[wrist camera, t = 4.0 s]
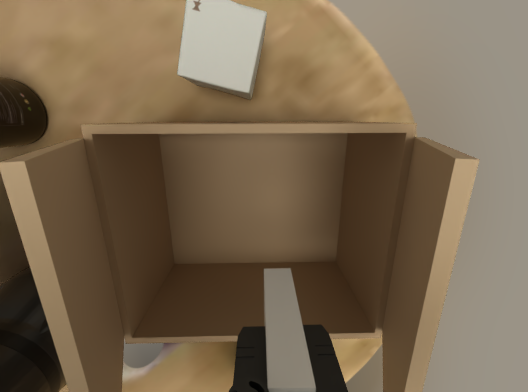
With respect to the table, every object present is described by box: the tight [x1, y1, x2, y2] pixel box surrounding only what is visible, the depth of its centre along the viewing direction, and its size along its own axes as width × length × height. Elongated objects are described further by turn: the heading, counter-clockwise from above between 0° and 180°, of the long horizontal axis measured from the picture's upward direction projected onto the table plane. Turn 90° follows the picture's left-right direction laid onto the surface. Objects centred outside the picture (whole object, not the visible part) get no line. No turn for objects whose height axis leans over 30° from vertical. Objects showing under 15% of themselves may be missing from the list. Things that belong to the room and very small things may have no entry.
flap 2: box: [382, 137, 479, 392], centre depth 15 cm, size 10×16×1 cm
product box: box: [177, 0, 267, 100], centre depth 23 cm, size 6×6×7 cm
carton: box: [81, 122, 417, 344], centre depth 25 cm, size 22×18×12 cm
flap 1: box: [0, 139, 124, 392], centre depth 14 cm, size 10×16×1 cm
